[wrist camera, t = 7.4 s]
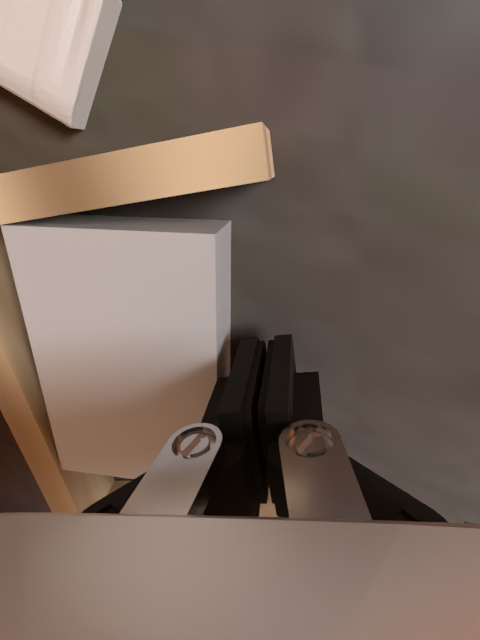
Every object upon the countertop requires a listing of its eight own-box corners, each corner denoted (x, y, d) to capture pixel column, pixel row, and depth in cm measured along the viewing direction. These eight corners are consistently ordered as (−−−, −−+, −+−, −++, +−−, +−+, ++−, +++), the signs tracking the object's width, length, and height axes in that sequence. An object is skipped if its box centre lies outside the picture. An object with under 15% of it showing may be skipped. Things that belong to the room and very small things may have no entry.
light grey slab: (231, 220, 11) (215, 234, 9) (230, 440, 15) (218, 490, 13) (56, 213, 12) (0, 224, 10) (95, 425, 16) (61, 469, 13)
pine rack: (269, 131, 10) (261, 121, 8) (311, 500, 15) (314, 558, 13) (-32, 188, 12) (-108, 195, 10) (99, 498, 17) (70, 549, 15)
